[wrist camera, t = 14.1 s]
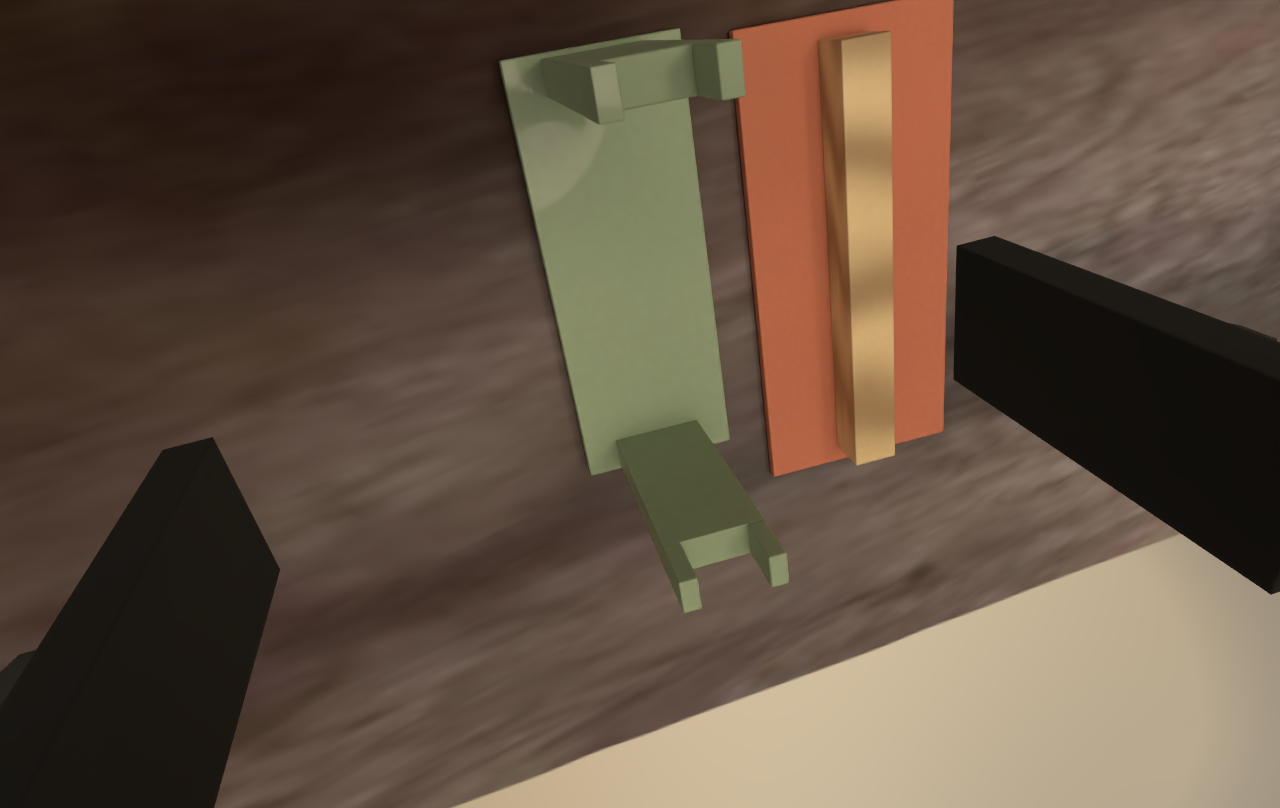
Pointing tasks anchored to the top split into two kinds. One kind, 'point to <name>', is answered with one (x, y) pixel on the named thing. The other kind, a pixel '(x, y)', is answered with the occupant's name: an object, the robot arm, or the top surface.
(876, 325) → the hanger bar
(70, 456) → the top surface
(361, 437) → the top surface
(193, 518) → the robot arm
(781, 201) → the mat
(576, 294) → the rack
